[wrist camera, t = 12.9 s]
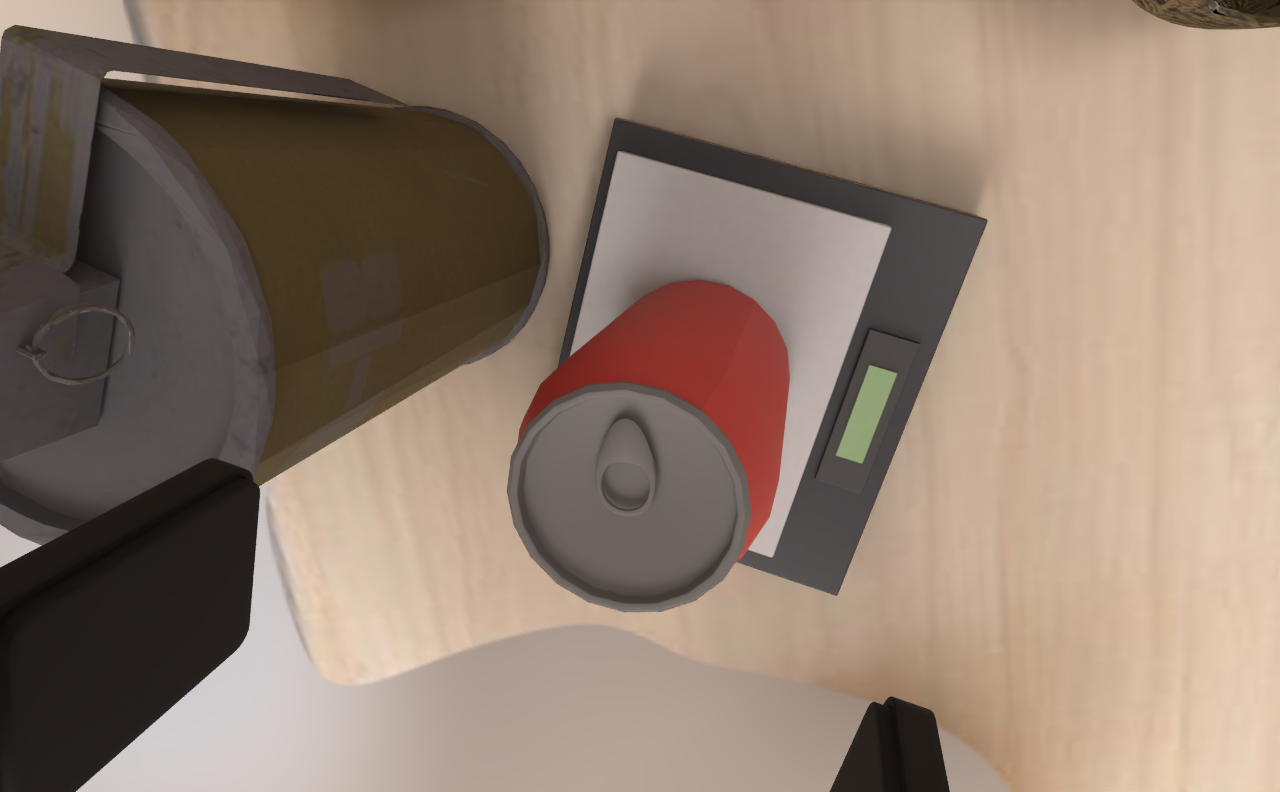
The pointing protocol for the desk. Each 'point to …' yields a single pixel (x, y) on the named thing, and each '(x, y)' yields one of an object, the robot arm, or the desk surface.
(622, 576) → the beer can
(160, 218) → the canister
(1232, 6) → the ornate brass lampshade
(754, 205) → the scale
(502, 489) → the desk surface
